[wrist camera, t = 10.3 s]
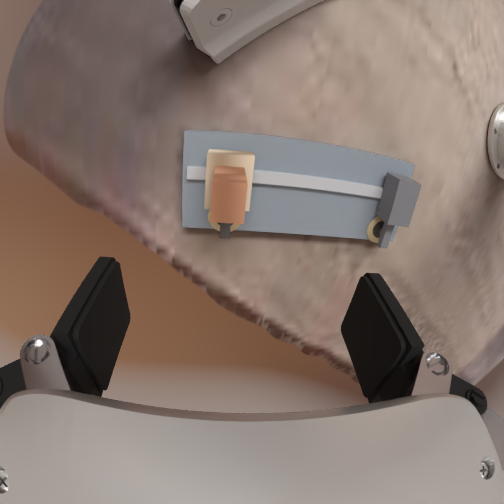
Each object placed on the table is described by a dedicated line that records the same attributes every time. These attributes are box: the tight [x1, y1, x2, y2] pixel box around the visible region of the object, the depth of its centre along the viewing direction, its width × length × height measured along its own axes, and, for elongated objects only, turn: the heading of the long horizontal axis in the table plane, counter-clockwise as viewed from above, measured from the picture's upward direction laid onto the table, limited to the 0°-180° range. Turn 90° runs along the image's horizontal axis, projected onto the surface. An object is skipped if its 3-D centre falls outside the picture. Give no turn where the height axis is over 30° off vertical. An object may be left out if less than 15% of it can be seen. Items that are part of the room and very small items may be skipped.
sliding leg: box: [204, 149, 255, 238], centre depth 23 cm, size 4×8×8 cm, turn 174°
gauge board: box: [182, 130, 421, 248], centre depth 27 cm, size 25×10×5 cm, turn 84°
